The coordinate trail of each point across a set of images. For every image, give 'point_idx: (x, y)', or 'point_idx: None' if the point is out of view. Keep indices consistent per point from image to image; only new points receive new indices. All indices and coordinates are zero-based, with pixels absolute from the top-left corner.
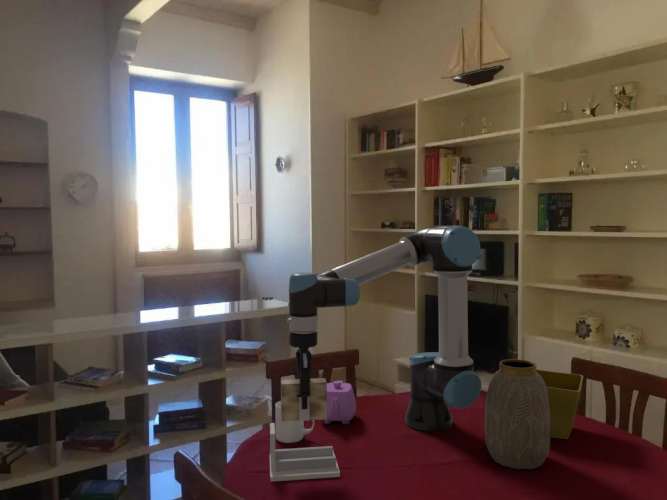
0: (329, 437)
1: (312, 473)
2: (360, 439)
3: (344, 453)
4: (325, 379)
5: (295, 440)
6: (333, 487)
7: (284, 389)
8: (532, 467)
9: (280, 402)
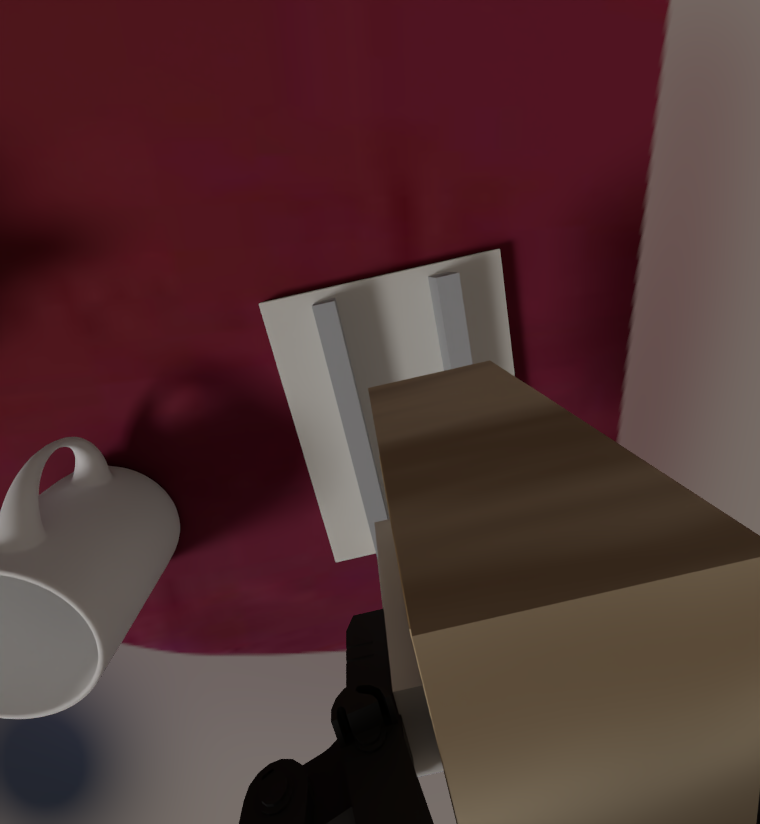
0: (56, 340)
1: (508, 370)
2: (33, 156)
3: (244, 244)
4: (536, 608)
5: (162, 492)
6: (583, 271)
7: None
8: None
9: None
